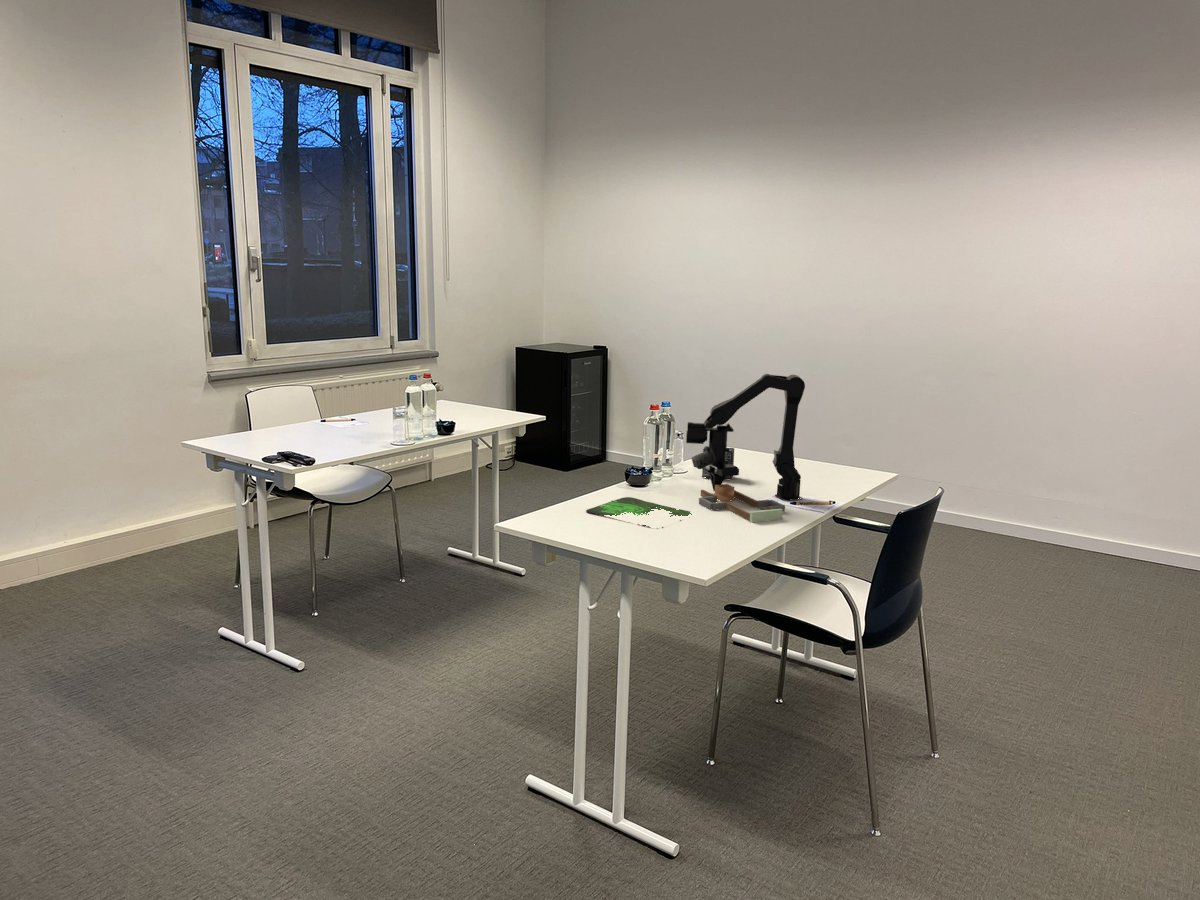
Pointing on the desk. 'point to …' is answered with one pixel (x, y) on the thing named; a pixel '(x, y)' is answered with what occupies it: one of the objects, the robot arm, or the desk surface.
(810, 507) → the desk surface
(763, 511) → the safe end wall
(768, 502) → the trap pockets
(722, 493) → the wooden cube
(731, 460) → the small box
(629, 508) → the mouse mat
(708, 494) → the lane walls
